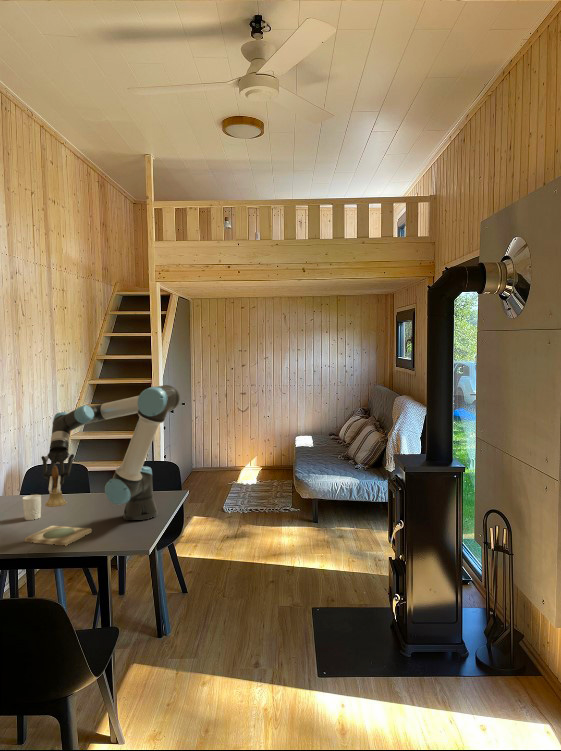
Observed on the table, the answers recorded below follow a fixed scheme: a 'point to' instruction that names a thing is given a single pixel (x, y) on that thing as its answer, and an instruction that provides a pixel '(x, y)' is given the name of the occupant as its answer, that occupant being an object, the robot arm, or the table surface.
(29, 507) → the white cup
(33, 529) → the table surface
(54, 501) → the hand bell
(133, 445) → the robot arm
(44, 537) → the bell board
